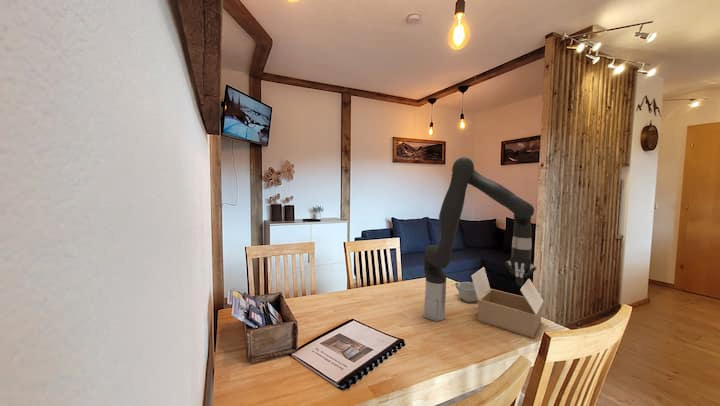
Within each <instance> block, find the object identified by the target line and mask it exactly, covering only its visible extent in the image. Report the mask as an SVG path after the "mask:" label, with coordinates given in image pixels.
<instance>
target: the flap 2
mask: <svg viewBox="0 0 720 406" xmlns="http://www.w3.org/2000/svg"><path fill="white" fill-rule="evenodd" d="M519 291H520V292H521V294H522V296H523V297H525V299H526V300H527V302H528V303H529V305H530V307H531V308H532V310H533V311H534V313H535V315H536V314H537V313H538V311H539V309H540V307H541V305H542V306H543V304H544V302H545V301H544V299H543V297H542V296H541V294H540V293H539V291H538V289H537V288H536V287H535V285H534V284H533V282H532V280H531V279H530V278H527V280H526V281H525V282H524V283H523V284H522V285H521V288H520V290H519Z"/></svg>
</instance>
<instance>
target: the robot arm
mask: <svg viewBox="0 0 720 406" xmlns="http://www.w3.org/2000/svg"><path fill="white" fill-rule="evenodd" d="M468 184H469V185H471V186H472V187H474V188H476V189H478V190H479V191H480V192H483V193H484V194H485V195H486V196H487V197H489V198H490V199H492V200H494V201H495V202H496V203H498V204H500V205H501V206H503V207H505V208H507V209H508V210H509V211H511V212H512V213H513V223H514V224H513V233H512V235H513V236H512V241H511V242H512V243H511V256H510V258H509V260H507V261H505V263H504V266H505V267H506V268H507V270H508V271H509V272H510V274H511V275H513V276H514V277H515V281H514V282H515V284H516V285H517V286H519V287H522V286H523V285H524V278H528V277H529V276H530V275H532V274H533V273H534V272H535V271H536V270H537V269H538V268H537V266H535V265H534V264H533V262H532V260H531V259H532V247H533V245H532V244H533V243H532V242H533V241H532V235H533V234H532V231H533V229H532V224H531V221H532V217H533V215H534V214H535V209H534V206H533V204H531V203H529V201H526V200H525V199H523V198H521V197H519V196H518V195H516V194H515V193H513V191H512V190H510V189H508V188H506V187H505V186H503V185H501V184H500V183H498V182H496V181H494V180H492V179H489V178H487V177H485V176H483V175H482V174H481V173H479V172H478V170H477V171H476V170H475V165H474V162H473V161H472V160H471V158H469V157H466V156H463V157H460V158H458V159H456V160H455V161H454V163H453V165H452V168H451V178H450V183H449V186H448V189H447V191H446V194H445V196H444V199H443V201H442V204H441V207H440V211H439V216H438V222H439V229H440V239H439V244H438V245H436V244H430V245H429V246H427V247H426V248H425V250H424V253H423V254H424V255H423V270H424V271H423V273H424V275H425V287H424V288H425V292H424V307H423V309H424V310H423V311H424V312H423V314H424V315H423V317H424V318H426V319H428V320H431V321H433V322H438V321H443V320H444V319H446V294H447V293H446V292H447V275H446V273H445V272H444V271H443V269H446V268H447V267H448V266H449V265H450V263H451V260H452V256H453V249H454V246H455V245H454V244H455V239H456V235H457V231H458V227H459V224H460V223H459V222H460V221H461V217H462V213H463V209H464V203H465V197H466V193H467V192H466V191H467V187H468ZM528 268H529V270H528V271H527V272H526V273H525V271H526V270H527V269H528Z"/></svg>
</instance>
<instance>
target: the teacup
mask: <svg viewBox="0 0 720 406" xmlns="http://www.w3.org/2000/svg"><path fill="white" fill-rule="evenodd" d="M454 285H455V289H456V290H457V291H458V296H459V298H460V299H461V300H462V301H464V302H466V303H474V302H476V301H479V299H477V295H476V291H475V288H474V284H473V281H472V282H471V281H464V282H461V281H457V282H455V284H454Z"/></svg>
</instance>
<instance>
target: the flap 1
mask: <svg viewBox="0 0 720 406" xmlns="http://www.w3.org/2000/svg"><path fill="white" fill-rule="evenodd" d="M470 277H471V280H472V283H473V284H474V288H475V291H476V295H477V299H478V300H479V299H480V298H481V297H483V296H484V295H485V294H486V293H487V292H488V291H489V290H490V289H491V286H490V283H489V279H488V277H487V271H486V268H485V267H484V266H483V267H482V268H480V269H479V270H477V271H476V272H475V273H473V274H471V276H470Z"/></svg>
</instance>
